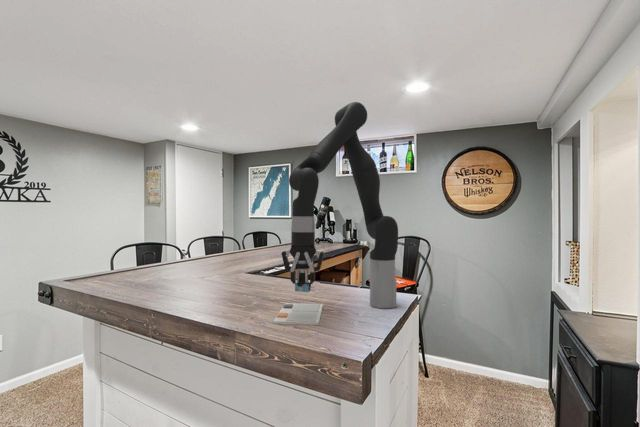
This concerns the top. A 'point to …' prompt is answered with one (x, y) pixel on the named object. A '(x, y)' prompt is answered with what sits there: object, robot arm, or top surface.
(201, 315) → the top surface
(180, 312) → the top surface
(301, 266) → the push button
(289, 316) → the board
